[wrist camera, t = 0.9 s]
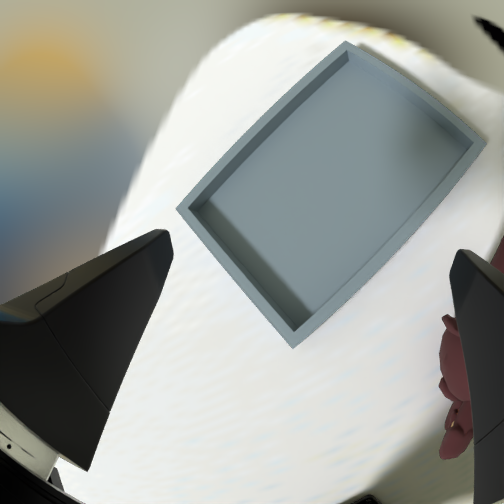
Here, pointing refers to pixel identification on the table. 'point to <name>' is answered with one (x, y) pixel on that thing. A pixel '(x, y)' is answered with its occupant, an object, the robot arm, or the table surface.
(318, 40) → the table surface
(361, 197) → the tray
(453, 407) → the icecream
